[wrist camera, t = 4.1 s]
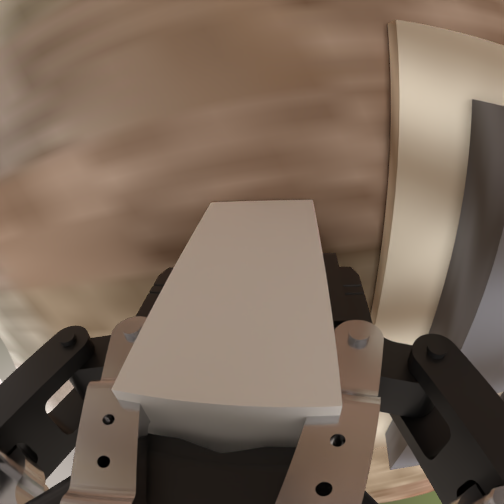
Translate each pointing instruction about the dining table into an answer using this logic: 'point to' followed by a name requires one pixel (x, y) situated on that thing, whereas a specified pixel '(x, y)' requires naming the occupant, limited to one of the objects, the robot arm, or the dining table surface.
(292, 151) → the dining table surface
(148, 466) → the robot arm
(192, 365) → the white rectangular block
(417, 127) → the socket board
